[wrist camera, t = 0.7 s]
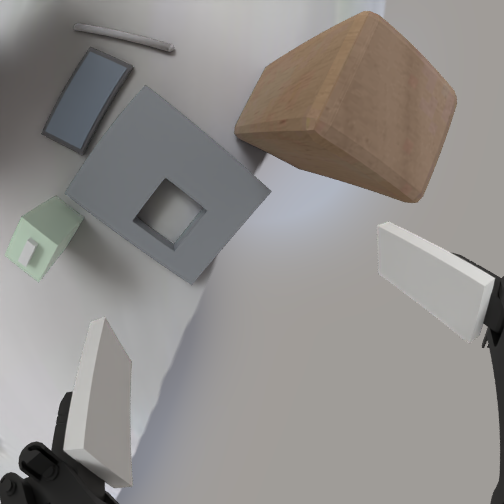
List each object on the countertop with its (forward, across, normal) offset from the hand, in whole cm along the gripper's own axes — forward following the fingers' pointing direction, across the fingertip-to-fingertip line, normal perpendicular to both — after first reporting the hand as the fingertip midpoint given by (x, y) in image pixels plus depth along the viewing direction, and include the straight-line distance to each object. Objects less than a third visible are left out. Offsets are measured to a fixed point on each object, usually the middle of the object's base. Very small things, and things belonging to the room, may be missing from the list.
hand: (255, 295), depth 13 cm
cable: (+23, -4, +21) cm, 31 cm away
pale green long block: (+23, -17, +2) cm, 29 cm away
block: (+23, +12, +6) cm, 27 cm away
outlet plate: (+23, -3, +2) cm, 23 cm away
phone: (+23, -9, +15) cm, 29 cm away
